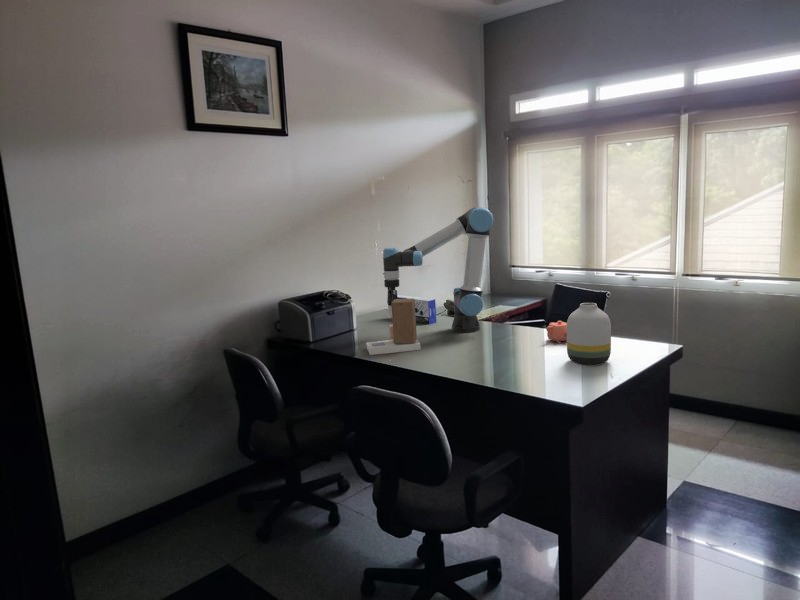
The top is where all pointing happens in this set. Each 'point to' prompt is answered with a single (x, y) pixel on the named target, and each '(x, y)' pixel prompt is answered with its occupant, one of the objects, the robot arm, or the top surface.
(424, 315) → the ink box
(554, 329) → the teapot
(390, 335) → the terracotta block
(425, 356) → the top surface
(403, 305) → the wooden block
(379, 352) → the foundation board
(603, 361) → the vase
